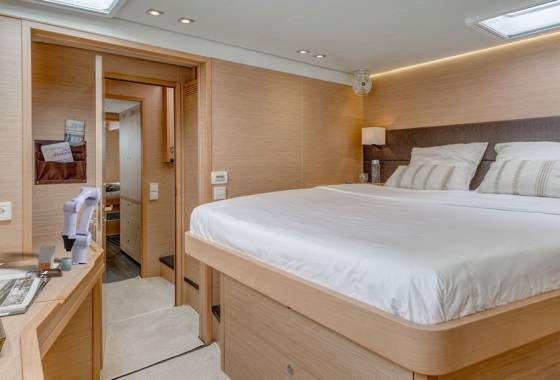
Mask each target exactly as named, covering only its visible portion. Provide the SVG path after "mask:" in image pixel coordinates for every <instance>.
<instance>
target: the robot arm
mask: <svg viewBox="0 0 560 380" xmlns="http://www.w3.org/2000/svg"><path fill="white" fill-rule="evenodd" d="M79 190H80V191H79V194H76V195H75V196H73V198H71V199H70V200H67V201H65V202H64V203H63V206H62V210H63V215H64V217H63V218H64V219H63V227H62V228H63V229H62V232H60V233H59V234H60V235H61V237H62V240H63V241H62V242H63V248H64V249H65V252H67V253H70V252H71V258H72V264H71V265H80V264H79V263H83V262H85V261H87V251H88V248H89V247H90V246H91V243H92V238H93V237H92V236H93V235H92V233H91V232H90V231H89V227H90V224H91V220H92V218H93V214H94V211H95V207H96V204H99V201H100V199H101V195H102V190H101V188H100V187H92V186H91V187H88V186H82V187H81V188H80V189H79ZM84 204H85V205H84ZM82 205H84V209H83V212H82V216H81V220H80V222H79V225H78V228H77V222H78V221H77V220H78V213H79V212H80V210H81V207H82Z"/></svg>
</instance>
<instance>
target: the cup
mask: <svg viewBox="0 0 560 380" xmlns="http://www.w3.org/2000/svg"><path fill="white" fill-rule="evenodd" d="M72 265H73V264H72V257H62V258H61V260H60V268H61V270H62V272H70V271H71V270H72Z"/></svg>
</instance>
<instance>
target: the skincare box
mask: <svg viewBox="0 0 560 380" xmlns="http://www.w3.org/2000/svg"><path fill="white" fill-rule="evenodd" d="M55 250H56V245H41V246H39V250H38V260H37V261H38V262H37V270H39V271H40V269H52V268H53V269H54V264H55V263H54V262H55Z"/></svg>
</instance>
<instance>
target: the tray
mask: <svg viewBox="0 0 560 380" xmlns="http://www.w3.org/2000/svg"><path fill="white" fill-rule="evenodd" d="M45 271H48V273H46V274H42V273H44V272H45ZM63 274H64V273H63V271H62V270H61V267H58V268H55V267H53V269H40V270H39V276H40V275H41V276H42V275H43V276H47V277H46V278H59V277H60V278H61V277H63Z"/></svg>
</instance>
